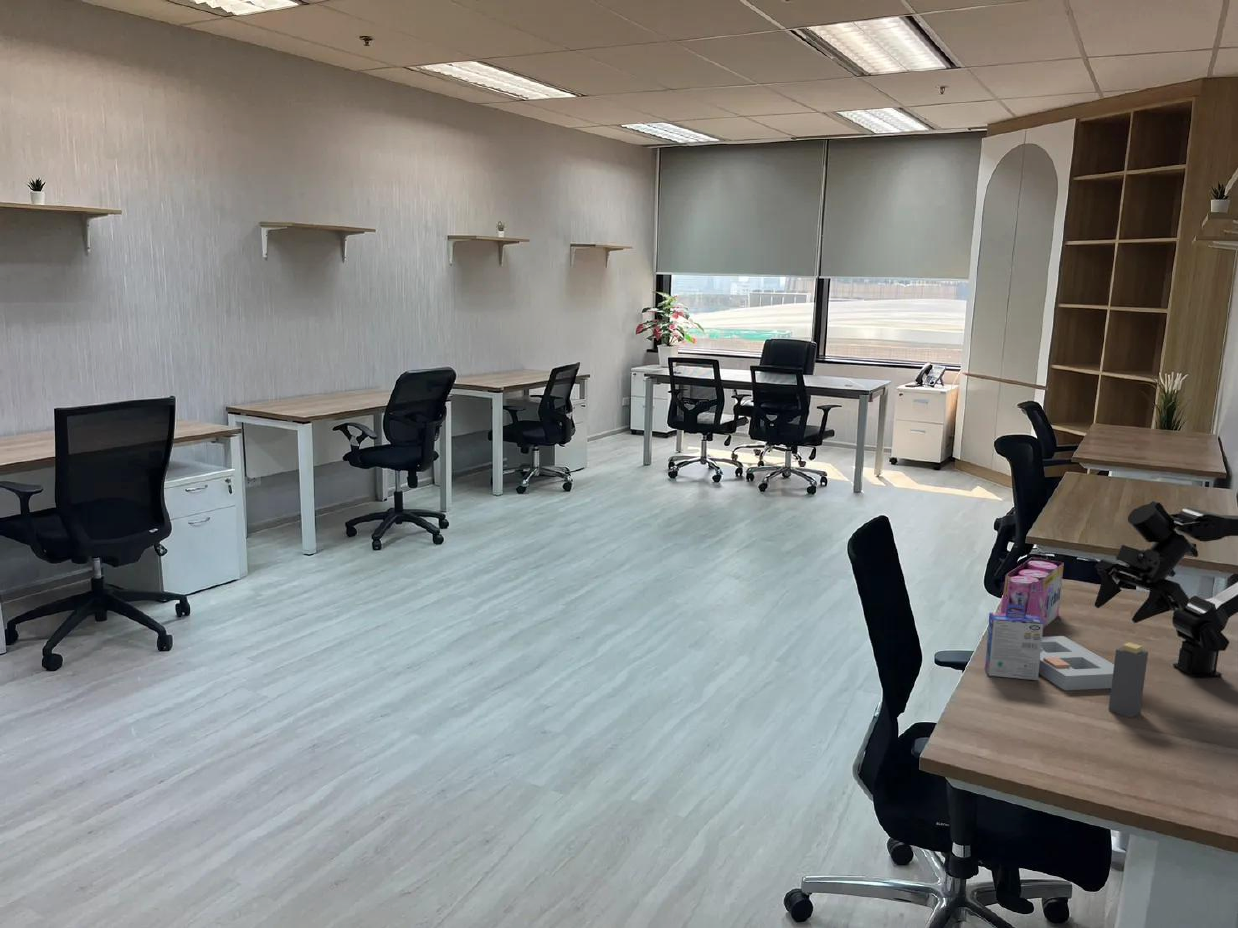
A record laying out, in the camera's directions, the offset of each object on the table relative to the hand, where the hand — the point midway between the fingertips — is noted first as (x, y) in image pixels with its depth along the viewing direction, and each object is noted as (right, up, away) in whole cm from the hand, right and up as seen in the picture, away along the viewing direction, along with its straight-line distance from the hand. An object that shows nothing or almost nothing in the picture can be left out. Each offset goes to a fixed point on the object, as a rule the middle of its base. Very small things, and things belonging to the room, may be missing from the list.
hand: (1114, 613), depth 188 cm
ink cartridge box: (-20, -13, +3) cm, 24 cm away
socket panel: (-7, -13, +7) cm, 16 cm away
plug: (-5, -16, -13) cm, 22 cm away
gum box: (-2, -8, +35) cm, 36 cm away
